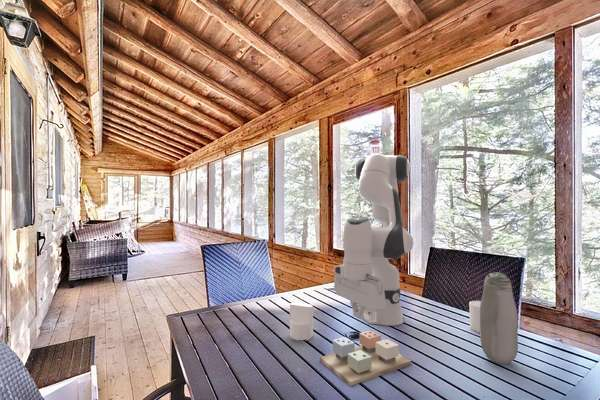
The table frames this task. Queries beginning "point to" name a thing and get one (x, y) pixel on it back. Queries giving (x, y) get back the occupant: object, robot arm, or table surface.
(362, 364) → the tile two
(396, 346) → the tile one
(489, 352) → the grey tall rounded block
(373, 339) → the tile four
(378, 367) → the board
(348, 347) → the tile three
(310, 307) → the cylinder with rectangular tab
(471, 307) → the mug
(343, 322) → the table surface
